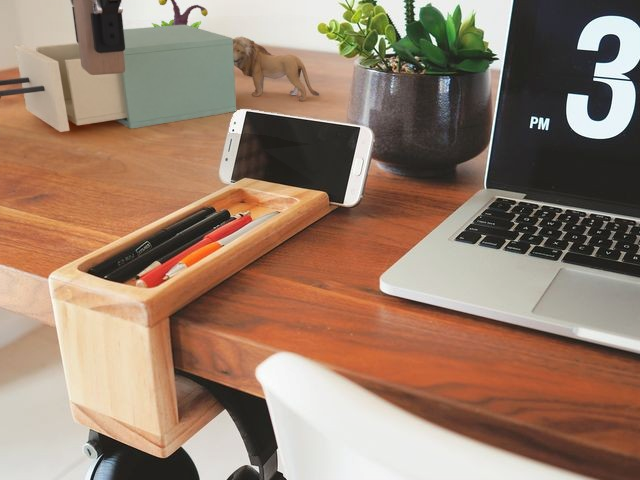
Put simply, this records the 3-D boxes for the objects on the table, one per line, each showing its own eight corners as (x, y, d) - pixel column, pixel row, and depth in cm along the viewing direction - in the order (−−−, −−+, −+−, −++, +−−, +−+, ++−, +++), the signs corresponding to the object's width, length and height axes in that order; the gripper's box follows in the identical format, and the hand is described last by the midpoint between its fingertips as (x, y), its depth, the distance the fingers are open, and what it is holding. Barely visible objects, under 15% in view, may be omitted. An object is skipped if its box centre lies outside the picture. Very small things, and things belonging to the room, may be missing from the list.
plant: (122, 47, 151) (115, -10, 145) (214, 43, 158) (211, -12, 153) (138, 66, 135) (130, 2, 129) (240, 60, 142) (236, 0, 137)
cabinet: (130, 129, 98) (120, 48, 93) (89, 106, 108) (78, 32, 103) (236, 111, 108) (232, 38, 103) (190, 92, 118) (184, 24, 113)
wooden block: (89, 76, 79) (80, -2, 75) (80, 68, 82) (71, -7, 78) (126, 73, 81) (119, -3, 77) (116, 66, 84) (109, -8, 80)
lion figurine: (226, 96, 116) (223, 38, 112) (236, 89, 120) (233, 33, 116) (316, 102, 114) (316, 43, 110) (322, 94, 119) (322, 38, 115)
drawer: (5, 140, 89) (-10, 68, 85) (-25, 117, 98) (-40, 50, 94) (171, 114, 102) (165, 50, 98) (131, 95, 111) (124, 36, 107)
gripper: (12, -146, 75) (40, 37, 83) (72, -146, 64) (97, 65, 72) (84, -140, 79) (103, 33, 88) (152, -139, 68) (167, 59, 77)
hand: (100, 45), depth 80 cm, fingers closed on wooden block, 4 cm apart
